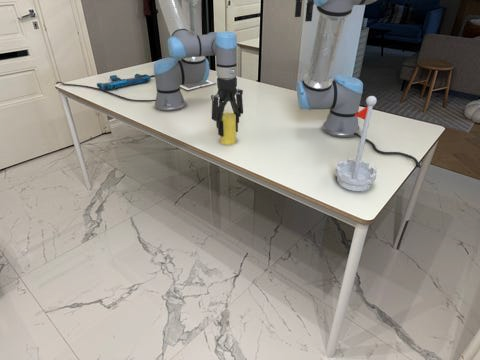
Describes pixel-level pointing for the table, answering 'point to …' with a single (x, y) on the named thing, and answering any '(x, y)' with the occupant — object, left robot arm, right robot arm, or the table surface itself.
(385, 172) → the table surface
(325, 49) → the right robot arm
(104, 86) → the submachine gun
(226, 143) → the canister
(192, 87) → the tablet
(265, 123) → the table surface
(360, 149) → the flag stand
